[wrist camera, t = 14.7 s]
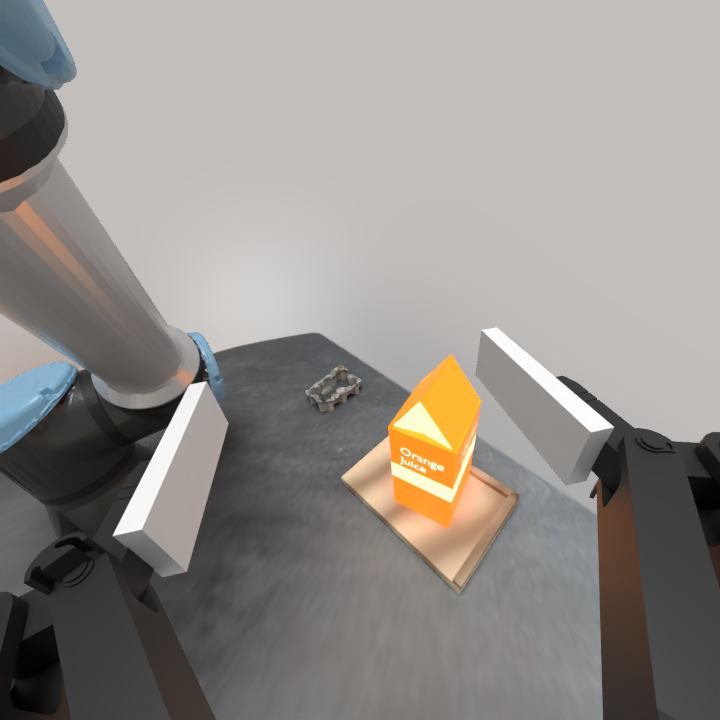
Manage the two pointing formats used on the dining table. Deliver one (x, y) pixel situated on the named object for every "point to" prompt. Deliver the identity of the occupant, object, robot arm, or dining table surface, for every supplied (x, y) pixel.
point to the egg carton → (327, 391)
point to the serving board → (426, 537)
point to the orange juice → (435, 443)
